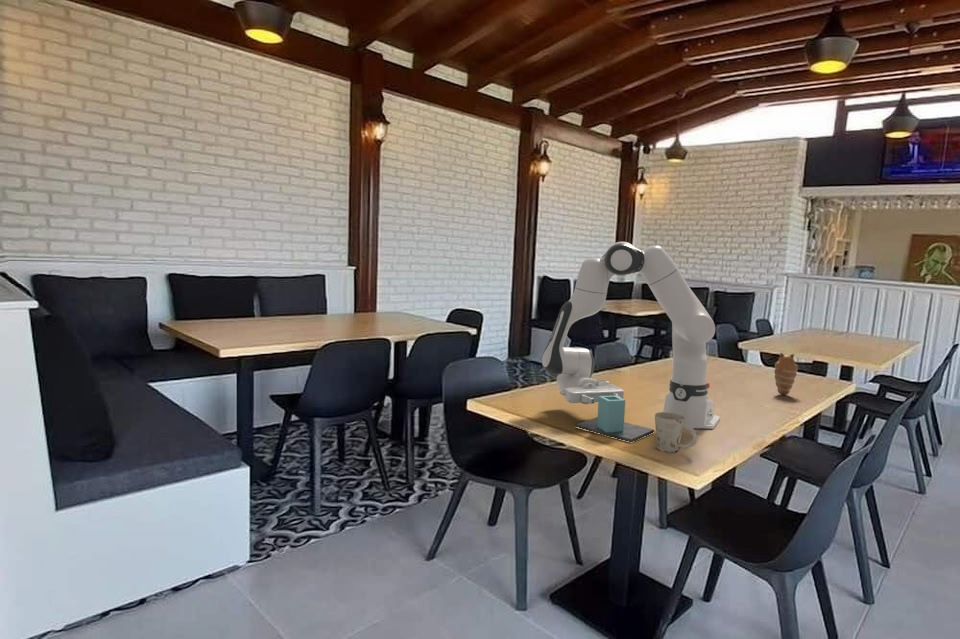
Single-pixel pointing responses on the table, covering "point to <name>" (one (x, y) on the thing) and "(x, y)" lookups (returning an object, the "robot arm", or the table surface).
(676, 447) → the mug
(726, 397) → the table surface
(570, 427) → the table surface
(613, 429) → the sleeve
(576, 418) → the table surface
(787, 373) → the cat ice cream
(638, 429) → the plate
